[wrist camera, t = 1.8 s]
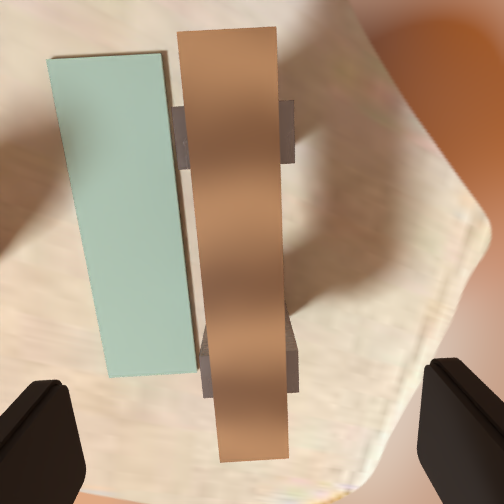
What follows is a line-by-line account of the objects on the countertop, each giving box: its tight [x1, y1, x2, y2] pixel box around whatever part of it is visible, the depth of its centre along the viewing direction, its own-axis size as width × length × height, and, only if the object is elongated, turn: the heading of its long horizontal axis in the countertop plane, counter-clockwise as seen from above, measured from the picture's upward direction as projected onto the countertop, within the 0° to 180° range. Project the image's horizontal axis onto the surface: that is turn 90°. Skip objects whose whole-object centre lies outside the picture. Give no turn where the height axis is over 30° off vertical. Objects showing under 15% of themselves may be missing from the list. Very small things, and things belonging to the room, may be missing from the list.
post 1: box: [171, 100, 295, 170], centre depth 22 cm, size 3×6×10 cm, turn 93°
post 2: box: [199, 300, 299, 398], centre depth 26 cm, size 3×6×10 cm, turn 93°
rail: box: [177, 27, 289, 463], centre depth 19 cm, size 22×4×4 cm, turn 3°
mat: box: [46, 53, 197, 378], centre depth 29 cm, size 26×8×1 cm, turn 3°
